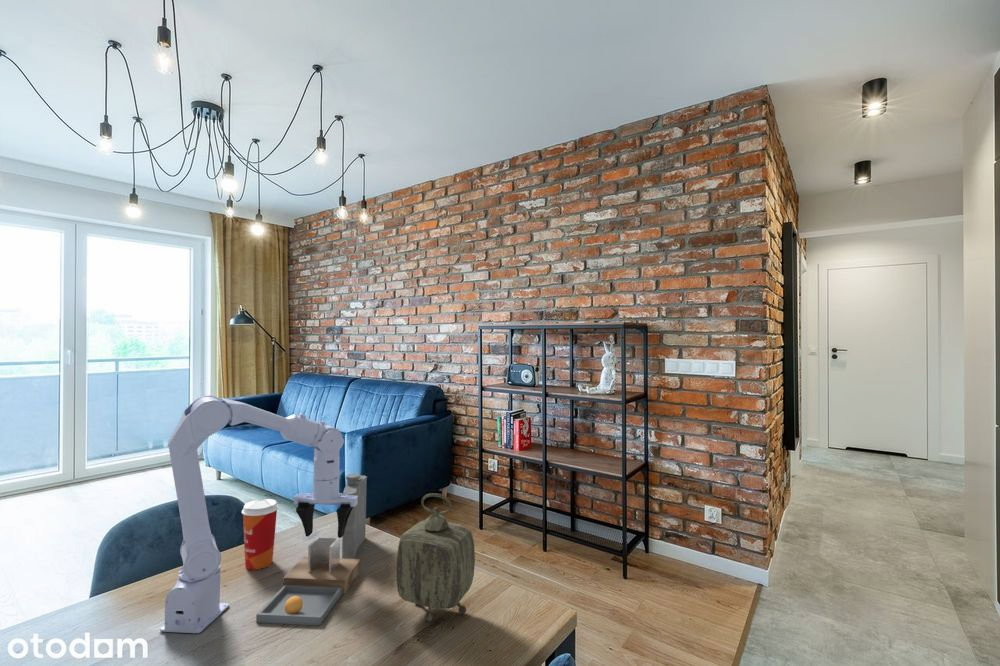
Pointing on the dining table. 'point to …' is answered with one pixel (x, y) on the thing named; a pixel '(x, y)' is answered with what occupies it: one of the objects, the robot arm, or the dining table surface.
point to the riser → (324, 574)
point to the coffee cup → (259, 532)
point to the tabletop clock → (435, 562)
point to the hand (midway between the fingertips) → (325, 535)
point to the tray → (313, 609)
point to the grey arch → (324, 552)
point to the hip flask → (355, 516)
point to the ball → (293, 605)
